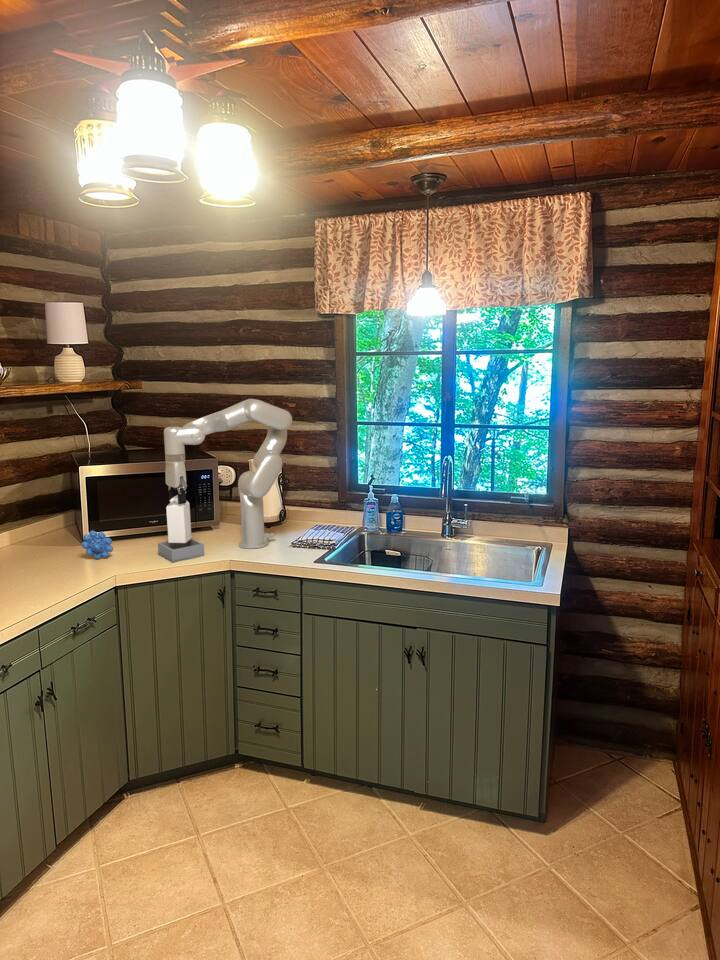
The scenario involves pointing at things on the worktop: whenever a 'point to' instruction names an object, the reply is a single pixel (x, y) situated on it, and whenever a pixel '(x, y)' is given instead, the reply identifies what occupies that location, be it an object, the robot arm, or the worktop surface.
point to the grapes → (97, 544)
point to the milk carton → (178, 521)
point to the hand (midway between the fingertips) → (177, 501)
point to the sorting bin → (181, 550)
